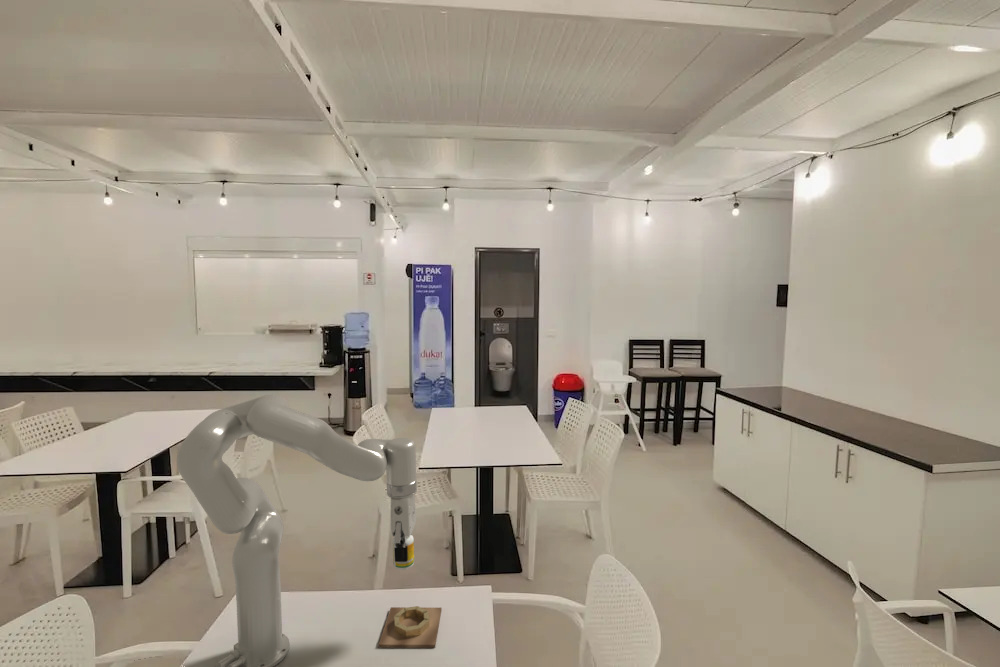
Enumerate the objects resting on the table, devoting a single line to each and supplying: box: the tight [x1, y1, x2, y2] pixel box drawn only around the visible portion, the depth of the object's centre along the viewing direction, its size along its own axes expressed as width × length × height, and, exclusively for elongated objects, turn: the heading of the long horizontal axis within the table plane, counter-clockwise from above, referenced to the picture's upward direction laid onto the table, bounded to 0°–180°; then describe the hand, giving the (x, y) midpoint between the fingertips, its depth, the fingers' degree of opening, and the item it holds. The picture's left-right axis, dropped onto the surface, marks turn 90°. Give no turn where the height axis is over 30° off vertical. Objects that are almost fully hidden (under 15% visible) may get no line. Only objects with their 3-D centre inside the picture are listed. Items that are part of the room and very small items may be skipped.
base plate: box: [378, 606, 443, 649], centre depth 126 cm, size 14×14×1 cm
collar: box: [394, 605, 429, 638], centre depth 126 cm, size 9×9×2 cm
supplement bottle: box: [392, 532, 415, 571], centre depth 125 cm, size 5×5×10 cm
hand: (403, 553), depth 125 cm, fingers closed on supplement bottle, 5 cm apart
